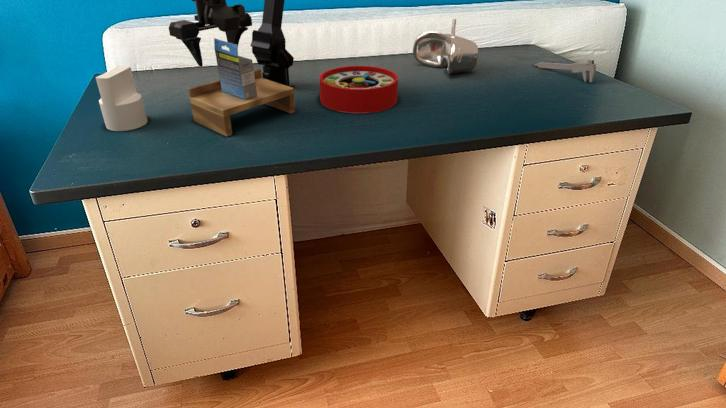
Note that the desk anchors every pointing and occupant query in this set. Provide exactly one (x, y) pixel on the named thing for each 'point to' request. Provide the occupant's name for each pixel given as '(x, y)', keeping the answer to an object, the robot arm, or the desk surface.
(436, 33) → the silver curved metal piece
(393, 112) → the desk surface
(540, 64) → the caliper
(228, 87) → the label tape box
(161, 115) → the desk surface
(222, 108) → the shelf
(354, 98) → the toy clock
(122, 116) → the cylinder with rectangular tab
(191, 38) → the robot arm
